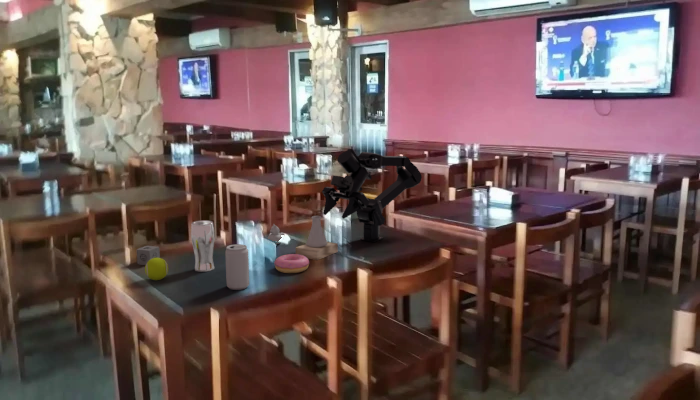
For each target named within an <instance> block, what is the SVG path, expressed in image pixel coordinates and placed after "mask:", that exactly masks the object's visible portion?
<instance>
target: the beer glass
mask: <svg viewBox="0 0 700 400" xmlns="http://www.w3.org/2000/svg"><path fill="white" fill-rule="evenodd" d="M190 229H191V230H190V232H191V233H190V236H191V245H192V248H193V252H194V259H195V262H194V263H195V264H194V271H195V272H197V273H205V272H206V273H207V272H211V271H214V270H215V264H214V256H213V255H214V248H215V247H214V246H215V228H214V221H212V220H207V219H206V220H201V219H200V220H194V221H192V222H191V228H190Z"/></svg>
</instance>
